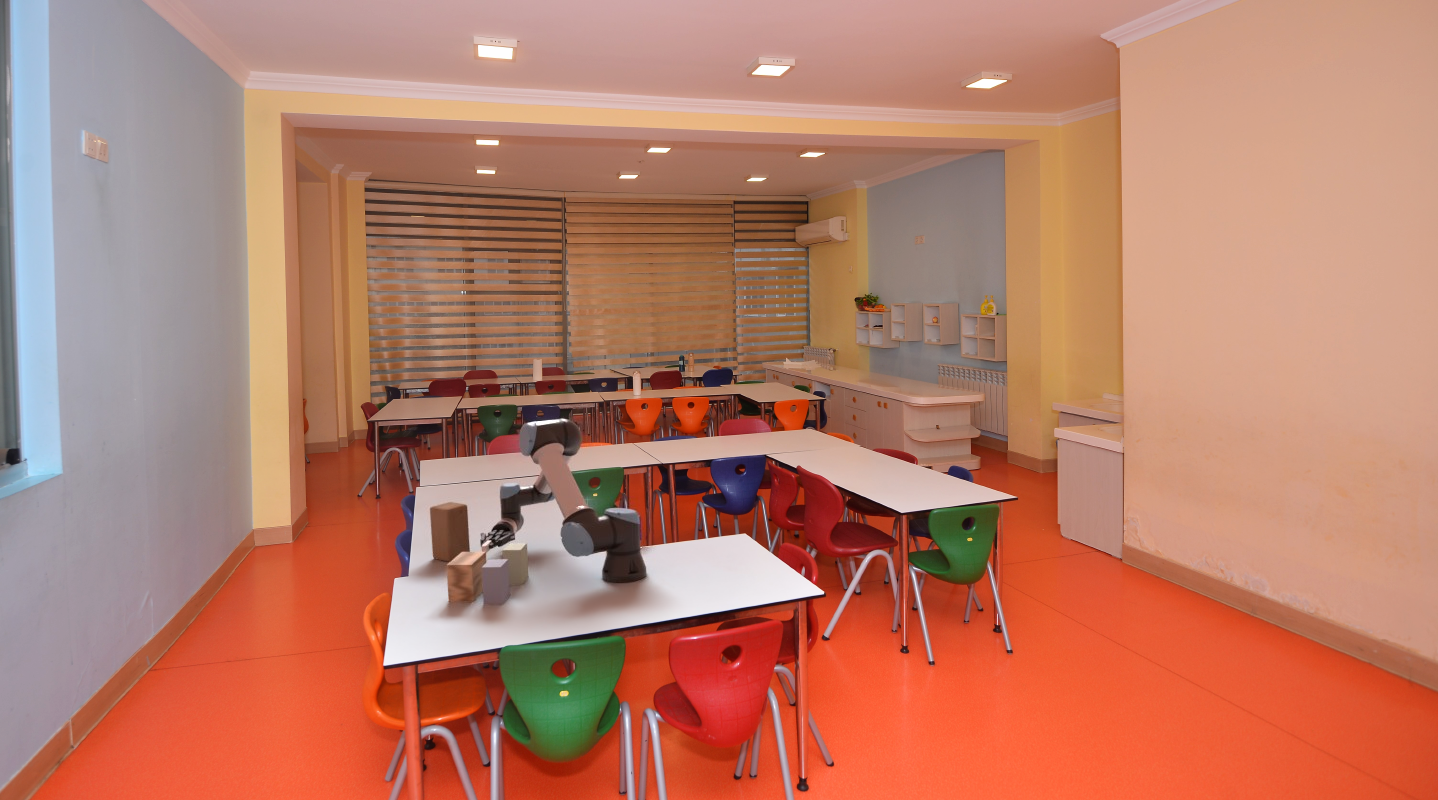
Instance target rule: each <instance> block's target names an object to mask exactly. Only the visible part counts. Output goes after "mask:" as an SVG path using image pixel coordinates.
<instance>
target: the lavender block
mask: <svg viewBox="0 0 1438 800" xmlns="http://www.w3.org/2000/svg"><path fill="white" fill-rule="evenodd" d="M486 562H487V563H486V564H484V565H483V566H482V585H483V592H482V598H483V600H482V601H483V605H485V606H487V605H489V606H491V605H492V606H493V605H496V606H497V605H504V604H505V603H506V601H507V600H508V599H509V598H510V596H511V589H510V588H511V587H510V586H511V585H510V583H509V564H508V559H503V558H502V559H501V558H498V559H488V560H487V561H486Z"/></svg>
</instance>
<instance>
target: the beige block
mask: <svg viewBox="0 0 1438 800" xmlns="http://www.w3.org/2000/svg"><path fill="white" fill-rule="evenodd" d="M502 559H508V564H509V583H510V584H514V585H513V586H523V585H524V584H525V582H526V581H527V580H528V579H529V576H530V575H529V559H528V543H527V542H518V543H517V542H514V543H513V542H511V543H510V542H508V543H507V544H506V546H505V547H504V548H503V549H502ZM526 579H527V580H526ZM525 580H526V581H525ZM518 584H519V585H518ZM522 584H523V585H522Z"/></svg>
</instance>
